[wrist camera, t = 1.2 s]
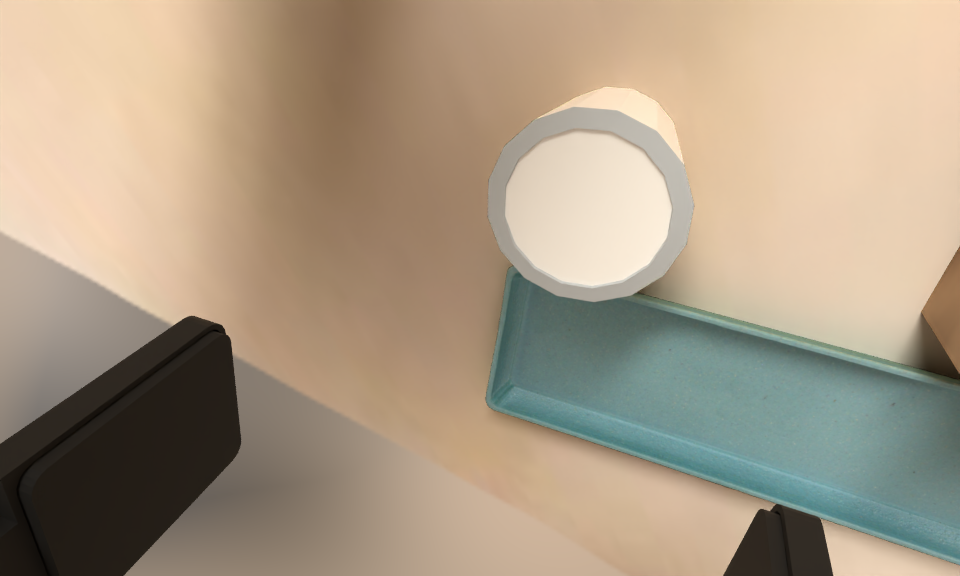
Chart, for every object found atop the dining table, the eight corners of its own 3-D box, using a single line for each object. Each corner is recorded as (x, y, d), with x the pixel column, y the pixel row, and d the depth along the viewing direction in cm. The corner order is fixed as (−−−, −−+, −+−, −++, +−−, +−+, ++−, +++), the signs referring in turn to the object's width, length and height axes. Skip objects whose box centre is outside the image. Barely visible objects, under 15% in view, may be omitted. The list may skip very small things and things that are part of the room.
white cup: (697, 225, 26) (696, 303, 20) (542, 232, 28) (501, 303, 23) (694, 58, 23) (692, 93, 17) (522, 81, 26) (469, 119, 20)
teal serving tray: (493, 386, 34) (480, 414, 32) (519, 243, 30) (506, 265, 28) (1009, 547, 29) (1033, 592, 27) (1140, 404, 24) (1180, 446, 22)
